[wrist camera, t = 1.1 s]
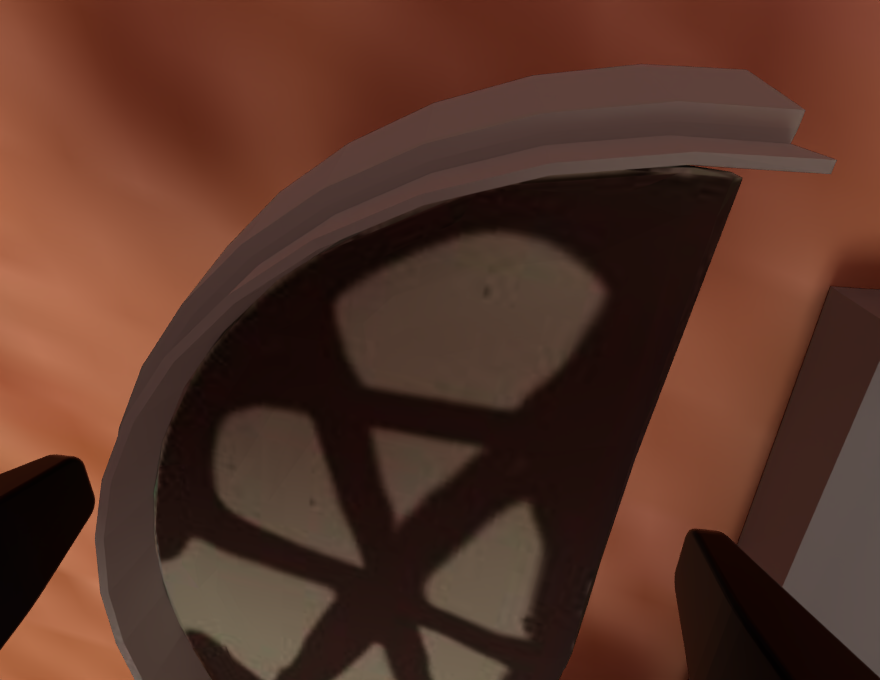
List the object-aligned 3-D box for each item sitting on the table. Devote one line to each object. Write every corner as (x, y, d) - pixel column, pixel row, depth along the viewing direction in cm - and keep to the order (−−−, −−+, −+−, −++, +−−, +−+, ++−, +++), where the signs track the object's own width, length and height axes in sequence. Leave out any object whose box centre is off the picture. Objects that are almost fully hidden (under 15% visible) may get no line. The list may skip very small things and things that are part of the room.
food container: (344, 35, 12) (-127, -93, 3) (612, 78, 12) (884, 62, 3) (321, 458, 18) (119, 837, 9) (504, 496, 17) (486, 931, 8)
